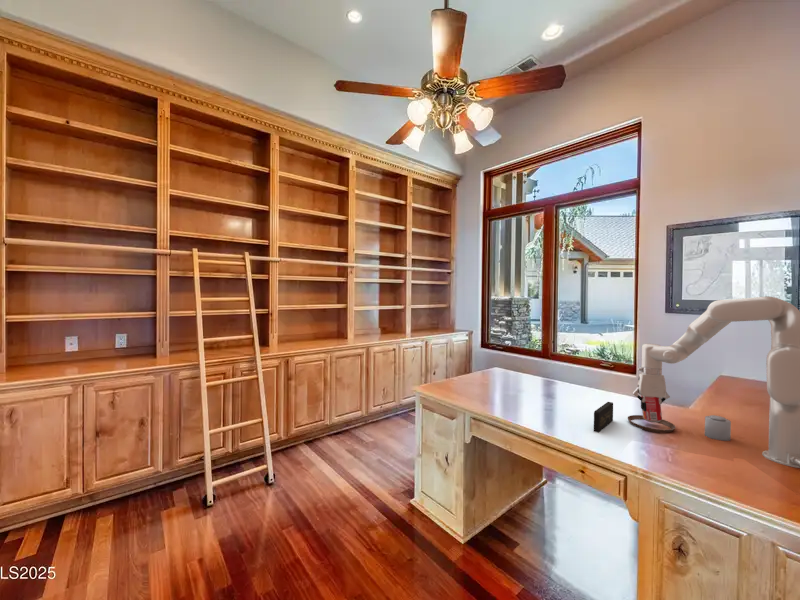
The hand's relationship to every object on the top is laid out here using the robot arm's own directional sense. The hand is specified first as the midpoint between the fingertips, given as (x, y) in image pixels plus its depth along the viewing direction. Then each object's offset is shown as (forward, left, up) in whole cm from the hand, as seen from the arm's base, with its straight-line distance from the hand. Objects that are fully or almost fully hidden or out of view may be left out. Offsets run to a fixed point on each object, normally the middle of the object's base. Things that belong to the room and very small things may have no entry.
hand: (650, 410), depth 158 cm
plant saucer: (0, 0, -8) cm, 8 cm away
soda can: (+1, -1, -5) cm, 5 cm away
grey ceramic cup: (-6, -22, -7) cm, 24 cm away
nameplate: (-8, +21, -8) cm, 24 cm away
